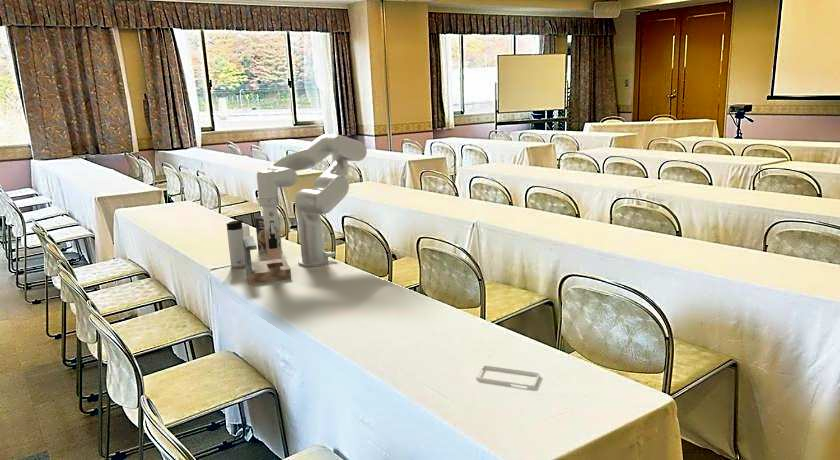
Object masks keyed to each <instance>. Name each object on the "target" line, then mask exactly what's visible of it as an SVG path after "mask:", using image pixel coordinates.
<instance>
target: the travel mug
mask: <svg viewBox="0 0 840 460" xmlns="http://www.w3.org/2000/svg"><path fill="white" fill-rule="evenodd" d="M242 224H243V220H232V221H228V223H226V231H227V241H228V250H229V257H230V259H229V261H230V268H231V269H234V270H241V269H244V268H246V267H245V257H244V248H243V238H242V237H243V228H242Z"/></svg>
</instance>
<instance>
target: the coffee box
mask: <svg viewBox="0 0 840 460" xmlns="http://www.w3.org/2000/svg"><path fill="white" fill-rule="evenodd" d="M254 219H255V231H256V240H257V250H258V251H257V252H258V253H261V254H262V253H264V254H267V253H266V241H265V229H264V227H265V225H264V218H263V215H261V216H258V217H255V218H254ZM278 221H279V231H278V244H279V252H281V251H282V250H283V248H282V236H281V234H282V233H281V222H280V216H278Z"/></svg>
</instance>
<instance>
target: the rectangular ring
mask: <svg viewBox="0 0 840 460" xmlns="http://www.w3.org/2000/svg"><path fill="white" fill-rule="evenodd" d="M486 369H487V370H494V371H499V372H500V371H501V372H507V373H514V374H520V375H521V374H522V375H526V376H528V375H529V376H534V377H536V379H535V382H534V384H528V383H527V384H526V383H520V382H513V381H506V380H500V379H493V378H487V377H479V376H480V374H481V373H482V371H484V370H486ZM540 377H541V373H539V372H536V371H535V372H534V371H527V370H522V369H513V368H508V367H507V368H506V367H500V366H494V365H493V366H492V365H485V364H484V365H482V366H481V368H480V370H479V372H478V373H477V375H476V376H475V380H476V381H478V382H483V383H491V384H495V385H496V384H497V385H504V386H511V385H515V386H522V387H526V388H527V389H530V390H534V389H536V388H537V387H536V386H537V385H538V382H539V380H540Z"/></svg>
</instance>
